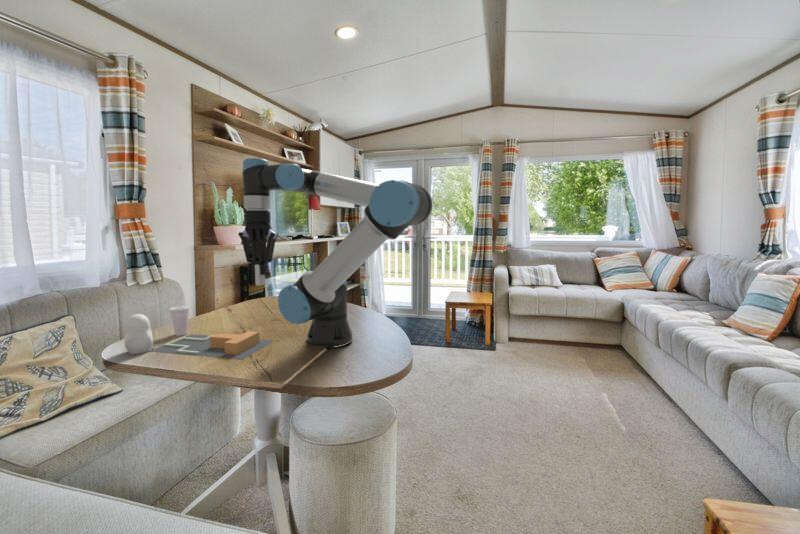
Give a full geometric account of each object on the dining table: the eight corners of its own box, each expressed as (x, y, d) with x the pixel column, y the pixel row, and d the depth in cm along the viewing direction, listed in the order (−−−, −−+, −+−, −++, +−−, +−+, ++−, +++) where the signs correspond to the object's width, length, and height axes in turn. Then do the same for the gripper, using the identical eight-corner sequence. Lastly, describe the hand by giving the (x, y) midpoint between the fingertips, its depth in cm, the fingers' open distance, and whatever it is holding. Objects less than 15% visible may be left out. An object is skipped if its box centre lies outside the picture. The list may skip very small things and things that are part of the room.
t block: (259, 342, 125) (258, 332, 124) (236, 354, 113) (236, 343, 113) (226, 339, 127) (226, 329, 127) (201, 351, 115) (200, 340, 115)
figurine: (124, 356, 114) (120, 317, 112) (128, 349, 120) (125, 312, 119) (152, 353, 117) (149, 315, 115) (154, 345, 124) (152, 309, 122)
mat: (275, 343, 127) (275, 340, 127) (242, 362, 109) (242, 359, 109) (191, 337, 133) (191, 334, 133) (148, 354, 116) (148, 351, 115)
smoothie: (182, 337, 133) (179, 298, 131) (166, 336, 134) (163, 297, 132) (195, 332, 139) (193, 294, 137) (180, 331, 140) (177, 293, 138)
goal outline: (231, 338, 129) (230, 336, 129) (197, 354, 113) (197, 352, 113) (191, 335, 132) (191, 333, 132) (153, 350, 116) (153, 348, 116)
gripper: (282, 210, 120) (284, 283, 123) (246, 210, 124) (249, 282, 126) (268, 209, 113) (271, 287, 116) (231, 209, 116) (234, 285, 119)
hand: (260, 284), depth 121 cm, fingers closed
